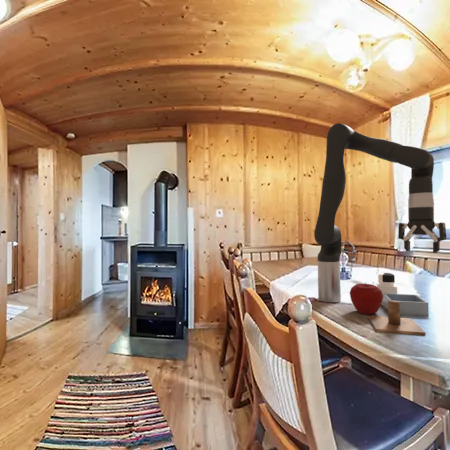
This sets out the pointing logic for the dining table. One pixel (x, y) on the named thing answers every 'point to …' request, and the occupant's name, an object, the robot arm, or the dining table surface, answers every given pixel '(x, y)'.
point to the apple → (366, 298)
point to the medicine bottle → (387, 283)
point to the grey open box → (408, 303)
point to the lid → (395, 321)
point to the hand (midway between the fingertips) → (421, 251)
